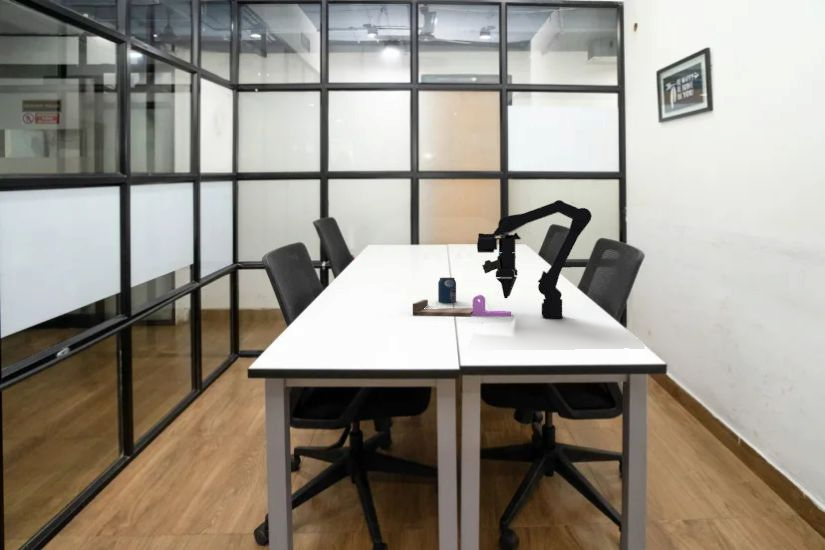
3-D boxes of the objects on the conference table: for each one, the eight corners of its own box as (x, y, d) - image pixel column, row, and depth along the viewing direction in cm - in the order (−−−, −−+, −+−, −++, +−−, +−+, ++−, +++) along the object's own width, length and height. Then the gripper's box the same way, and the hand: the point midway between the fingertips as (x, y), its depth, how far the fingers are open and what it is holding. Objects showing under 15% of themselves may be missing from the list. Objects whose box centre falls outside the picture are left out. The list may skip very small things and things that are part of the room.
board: (476, 311, 215) (476, 300, 215) (469, 316, 197) (469, 304, 197) (423, 310, 220) (423, 299, 220) (412, 315, 202) (412, 303, 202)
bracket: (472, 315, 201) (472, 295, 200) (474, 314, 206) (474, 294, 206) (510, 316, 197) (510, 296, 197) (511, 315, 203) (511, 295, 203)
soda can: (455, 309, 222) (455, 278, 221) (437, 309, 223) (437, 278, 222) (456, 307, 229) (456, 277, 228) (439, 307, 230) (439, 277, 229)
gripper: (487, 252, 214) (486, 294, 214) (480, 252, 195) (480, 298, 196) (517, 252, 211) (517, 295, 212) (514, 252, 193) (514, 299, 193)
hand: (506, 297), depth 203 cm, fingers open, 9 cm apart
